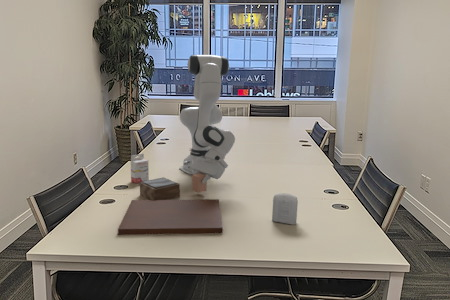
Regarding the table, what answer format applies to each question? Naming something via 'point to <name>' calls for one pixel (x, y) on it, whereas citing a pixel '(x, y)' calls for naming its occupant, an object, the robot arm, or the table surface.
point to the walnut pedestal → (159, 189)
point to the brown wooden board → (172, 217)
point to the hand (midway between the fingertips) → (198, 181)
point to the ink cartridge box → (139, 169)
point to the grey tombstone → (285, 208)
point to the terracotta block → (198, 183)
